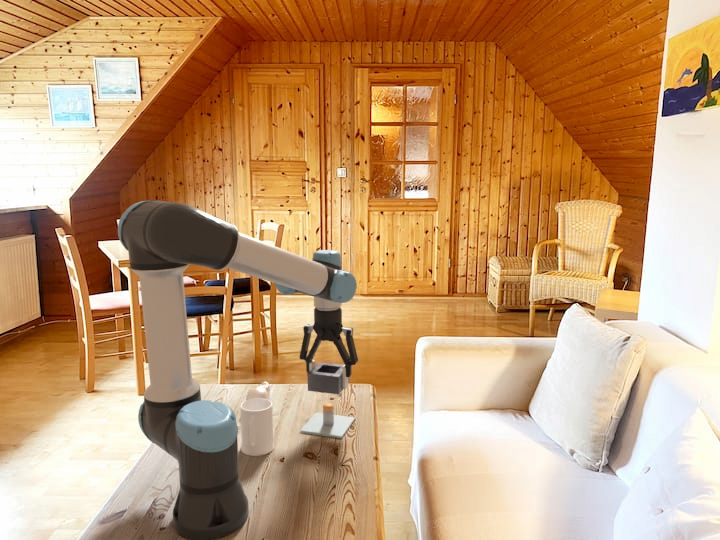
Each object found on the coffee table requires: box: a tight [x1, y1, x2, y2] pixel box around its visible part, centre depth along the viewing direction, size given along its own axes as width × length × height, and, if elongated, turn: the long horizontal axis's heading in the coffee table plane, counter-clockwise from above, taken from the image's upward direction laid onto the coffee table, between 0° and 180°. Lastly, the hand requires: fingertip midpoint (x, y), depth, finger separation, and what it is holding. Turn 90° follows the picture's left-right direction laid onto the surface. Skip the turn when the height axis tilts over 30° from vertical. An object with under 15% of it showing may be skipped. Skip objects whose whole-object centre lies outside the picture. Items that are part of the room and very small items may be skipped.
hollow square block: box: [306, 361, 350, 395], centre depth 152 cm, size 9×9×5 cm
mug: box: [239, 398, 275, 457], centre depth 139 cm, size 12×8×12 cm
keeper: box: [300, 402, 356, 439], centre depth 153 cm, size 12×12×6 cm
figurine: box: [245, 381, 273, 402], centre depth 167 cm, size 11×7×15 cm
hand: (328, 385), depth 152 cm, fingers closed on hollow square block, 9 cm apart
